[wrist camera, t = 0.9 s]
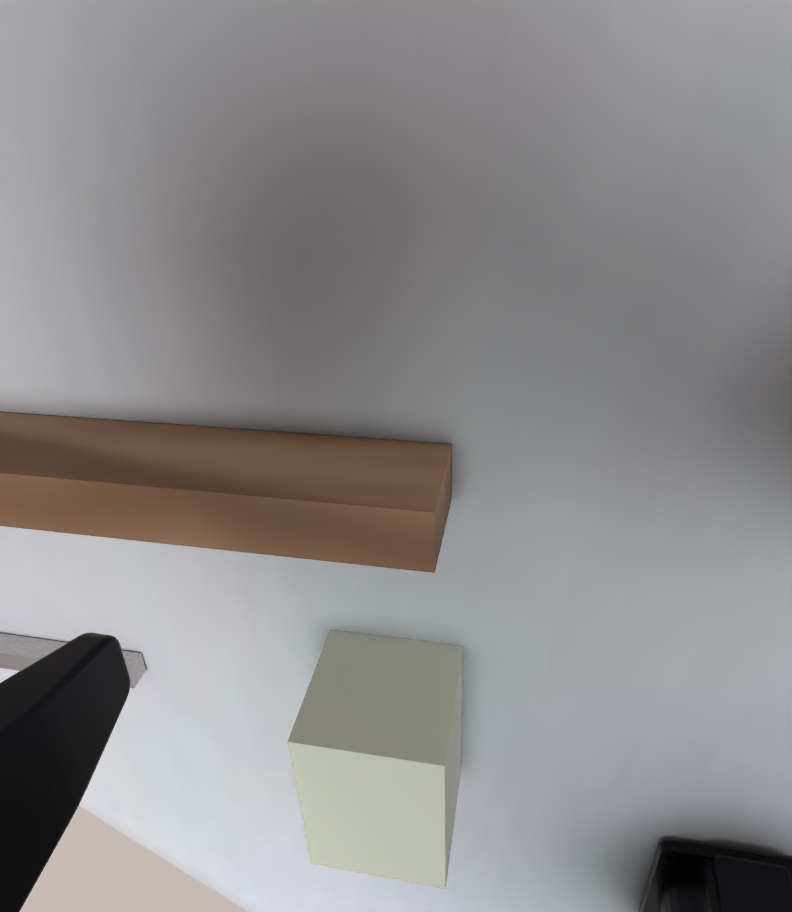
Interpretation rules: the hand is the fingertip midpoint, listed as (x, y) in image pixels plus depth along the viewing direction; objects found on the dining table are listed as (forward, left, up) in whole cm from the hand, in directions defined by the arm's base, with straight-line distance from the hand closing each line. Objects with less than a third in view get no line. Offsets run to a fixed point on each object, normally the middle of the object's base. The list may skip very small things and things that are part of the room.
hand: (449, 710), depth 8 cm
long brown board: (-4, +14, -12) cm, 18 cm away
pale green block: (-15, +4, -12) cm, 20 cm away
